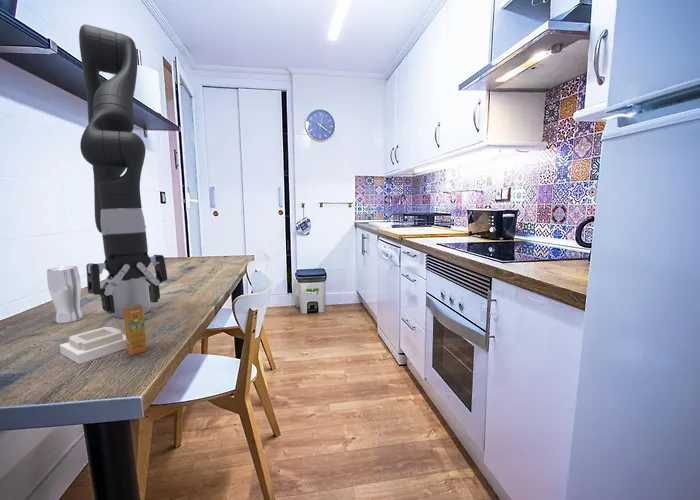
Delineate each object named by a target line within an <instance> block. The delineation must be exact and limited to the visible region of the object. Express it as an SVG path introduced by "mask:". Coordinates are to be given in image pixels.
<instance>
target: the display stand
mask: <svg viewBox="0 0 700 500" xmlns="http://www.w3.org/2000/svg"><path fill="white" fill-rule="evenodd" d="M124 350H127V344H126V334H124V333H123V331H122V330H120V329H118V328H115V327H112V326H110V327H108V326H103V327H100V328H96V329H92V330H88V331H85V332H82V333H78V334H74V335H70V336H69V337H68V342H65V343H60V344H59V351H60V352H59V353H60V355H62V356H64V357H66V358H67V359H69V360H71V361H73V362H75V363H76V364H78V365H82V364H85V363H88V362H91V361H95V360H96V359H100V358H103V357H106V356H109V355H112V354H114V353H117V352H121V351H124Z"/></svg>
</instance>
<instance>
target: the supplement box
mask: <svg viewBox="0 0 700 500" xmlns="http://www.w3.org/2000/svg"><path fill="white" fill-rule="evenodd" d="M123 315H124V318H123V322H124V333H125V334H124V335H126V344H127V348H126V351H127V353H128V354H129V355H130V356H134V355H137V354H141V353H145V352H147V351H148V349H147V339H146V338H147V337H146V336H147V335H146V328H145V327H146V325H145V315H144V313H143V308H142V306H141V305H140V304H138V305H134V306H128V307H123Z"/></svg>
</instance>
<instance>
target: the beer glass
mask: <svg viewBox="0 0 700 500" xmlns="http://www.w3.org/2000/svg"><path fill="white" fill-rule="evenodd" d="M78 268H79V267H78V266H77V265H76V266H74V265H73V266H69V265H68V266H59V267H54V268H48V269H47V270H46V277H47V278H46V279H47V287H48V288H47V289H48V292H49V295H50V298H51V300H52V302H53V305H54V307H55V308H54V309H55V320H54V321H55V324H60V325H61V324H67V323H69V324H70V323H73V322H77V321H81V320H83V318H84V314H83V312H82V308H81V292H82V291H81V290H82V285H81V283H82V282H81V277H80V271H79V269H78Z"/></svg>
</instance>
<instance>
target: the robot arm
mask: <svg viewBox="0 0 700 500" xmlns="http://www.w3.org/2000/svg"><path fill="white" fill-rule="evenodd" d="M78 41H79V43H78V45H79V52H80V59H81V67H82V71H83V77H84V79H83V80H84V86H85V91H86V103H87V119H88V124H87V126H86V127H85V128H84V130H83V133H82V135H81V139H80V144H79V147H80V152H81V155H82V157H83V158H84V160H85V161H86V162H87V163H88V164H90V165H91V166H92V170H93V171H92V172H93V187H94V188H93V190H94V193H93V194H94V201H93V202H94V203H93V205H94V221H95V226H96V230H97V231H98V232H99V233H100V234H101V235H102V244H103V251H104V252H103V253H104V257H105V260H104V262H100V263H93V262H89V263H87V264H86V265H85V266H86V284H87V293H88V294H91V295H95V296H97V295H98V296H100V300H101V301H100V302H101V309H102V310H103V311H104V312H106V313H107V314H111V315H112V314H113V317H114V318H118V319H119V318H120V319H122V318H123V319H124V315H123V307H128V306H134V305H138V304H140V305H141V306H142V308H143V313H144V314H147V313H149V312H150V311H151V304H150V303H154V304H155V303H158V302H159V300H160V299H161V291H160V284H161V283H163V282H166V281H167V280H168V272H167V266H166V260H165V256H164V255H163V254H154V255H153V256H150V255H149V253H148V252H149V251H148V250H149V248H148V247H149V246H148V239H147V231H146V229H147V227H146V222H145V216H144V213H143V207H142V199H141V197H142V196H141V178H142V177H141V175H142V170H143V166H144V162H145V158H146V145H145V143H144V141H143V139H142V138H141V136H140V135H138V134H137V133H135V132H133V130H134V127H135V124H134V122H135V121H134V119H135V118H134V96H135V95H134V94H135V90H136V84H137V75H138V51H137V47H136V42H135V41H134V40H133V38H131V37H130V36H128V35H127V34H124V33H121V32H116V31H113V30H109V29H105V28H101V27H97V26H94V25H91V24H90V25H89V24H82V25H81V26H80V28H79V34H78ZM101 72H102V73H107V74H112V75H114V76H112V77H111V78H109V79H107V80H106V81H105V82H103V81H102V79H101V76H100V73H101ZM150 264H151V265H152V266H154V273H155V275H154V273H152V272H151V271H150V269H148V268H149V265H150ZM104 270H106V272H108V273H107V274H108V275H107V277H106V278H105V280H104V281H103V284H102V286H101V276H100V275H101V274H102V273H103V272H104Z"/></svg>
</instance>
